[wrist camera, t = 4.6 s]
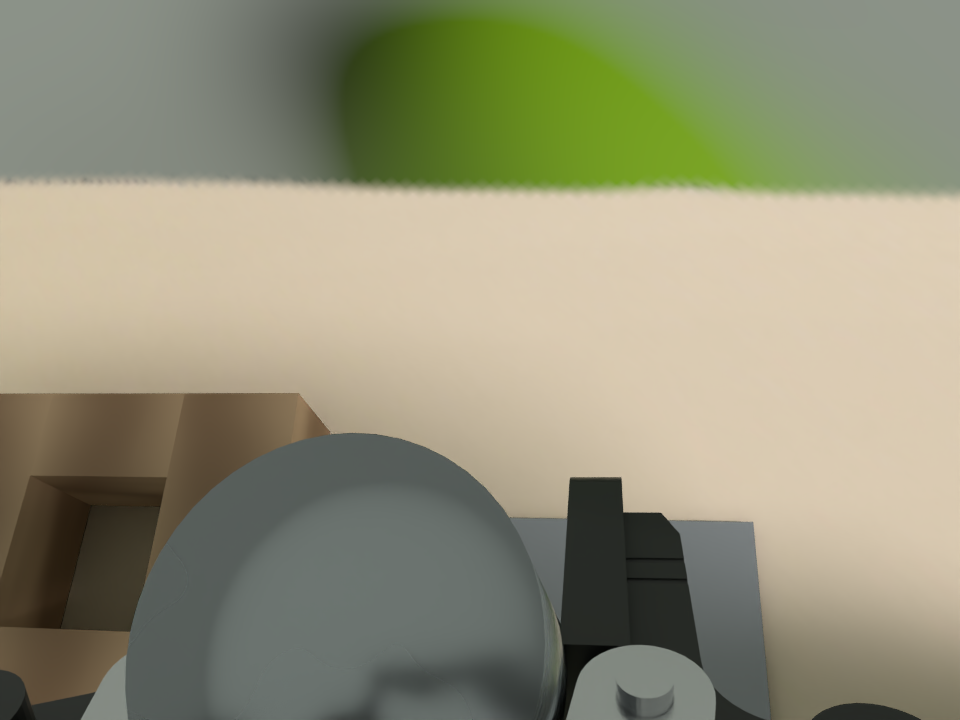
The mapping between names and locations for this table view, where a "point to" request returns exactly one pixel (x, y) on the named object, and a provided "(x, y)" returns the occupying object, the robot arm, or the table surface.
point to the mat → (693, 598)
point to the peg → (346, 597)
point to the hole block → (108, 502)
